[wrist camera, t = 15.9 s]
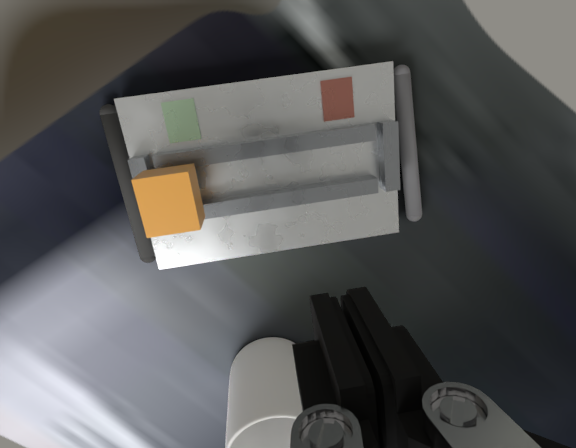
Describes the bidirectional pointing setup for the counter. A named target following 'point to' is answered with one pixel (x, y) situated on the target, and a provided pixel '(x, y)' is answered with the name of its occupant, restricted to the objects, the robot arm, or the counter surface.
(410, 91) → the grey rounded rod
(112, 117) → the grey bar
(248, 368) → the mug
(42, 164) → the counter surface
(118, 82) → the counter surface
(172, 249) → the slider switch board
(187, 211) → the orange block
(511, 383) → the counter surface
